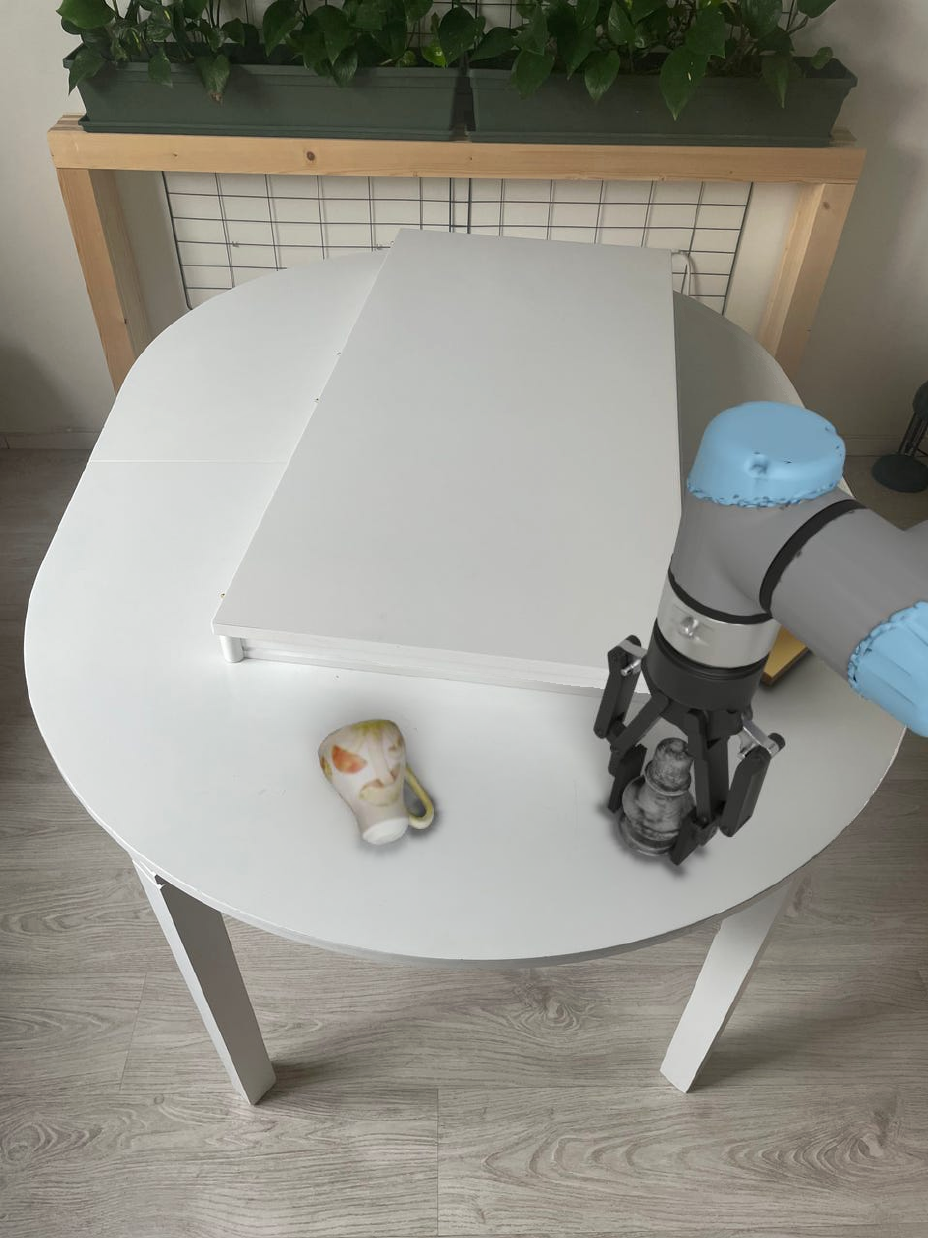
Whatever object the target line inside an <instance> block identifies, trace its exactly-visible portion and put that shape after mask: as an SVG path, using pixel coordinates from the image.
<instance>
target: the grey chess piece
mask: <svg viewBox="0 0 928 1238" xmlns="http://www.w3.org/2000/svg"><path fill="white" fill-rule="evenodd" d="M693 765H694V761H693V755H691V754H689V752H688V741H685V740H684V739H682V738H679V737H676V736H675V737H674V736H673V737H671V736H670V737H665V738H663V739H662V740H660V741H659V742H658V743H657V746H656V747H655V750H654V754H653V757H652V759H651V760H649V761H648V762H647V763H646V764H645V767H644V770H643V774H642V775H641V774H640V776H638V777H636V778H635V779H633V780H632V781H630V782H629V783H628V785H627V786H626V787H625V790H624V792H623V795H622V805H623V806H622V810H623V811H622V812H621V814H620V815H621V816H620V817H619V831H620V834H621V836H622V838H623V840H624V842H625V843H626V844H627V845H628V846H629V847H630V848H631V849H633V850H634V851H635V852H637V853H640V854H642V855H645V856H647V857H656V858H657V857H665V856H667V855H672V854H673V851H674V848H675V846H676V843H677V840H678V837H679V834H680V831H681V829H682V826H683V823H684V820H685V817H686V815H687V814H688V813H689V812H690V811H691V810H692V809H693V808H694V807H695V806H696V800H695V799H694V798H695V797H694V796H693V794H692V792H691V791H690V788H691V785H692V782H693V780H692V779H693V778H692V774H691V769H692V766H693Z"/></svg>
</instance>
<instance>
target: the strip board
mask: <svg viewBox="0 0 928 1238" xmlns="http://www.w3.org/2000/svg"><path fill="white" fill-rule="evenodd" d="M809 651H811V650H810V649H809V648H808V647H806V646H805V645H804V644H803V643H802V642H801V641H799V640H798V639H797V638H796V637H795V636H794V635H792V634H791V633H790V632H789V631H788V630H787V629H785V628H784V627H783V626H782V625H781V627H780V630H779V632H778V635H777V638H776V640H775V643H774V645H773V648H772V649H771V651H770V655H769V658H768V661H767V663H766V666H765V668H764V671H763V674H762V676H761V679H760V681H761V682H762V683H763V684H765V685H766V686H771V685H773V683H775V682H776V681H777V680H778V679H779V678H780V677H781V676H783V674H785V673H786V671H788V670H789V669H790V668H791V667H792V666H793V665H794V664H796V663H797V662H798V661H799V660H800V659H801V658H802V657H803V656H804V655H806V654H807V653H808V652H809Z"/></svg>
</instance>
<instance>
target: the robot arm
mask: <svg viewBox="0 0 928 1238" xmlns="http://www.w3.org/2000/svg"><path fill="white" fill-rule="evenodd" d="M845 459H846V445H845V442H844V440H843V438H842V437H840V436H839V435H838V434H837V431H836V428H835V426H834V425H833V424H832V423H831V422H830V421H829V420H827V419H826V418H824V417H823V416H821V415H820V414H818V413H816V412H814V411H812V410H810V409H807V408H805V407H802V406H799V405H796V404H791V403H788V402H784V401H783V402H782V401H775V400H755V401H747V402H741V403H740V404H738V405H736V406H734V407H729V408H726V409H725V410H723V411H721V412H719V413H718V414H716V416H714V417H713V418H712V419H711V420H710V421H709V423H708V425H707V426H706V427H705V430H704V432H703V435H702V437H701V441H700V444H699V448H698V451H697V454H696V456H695V459H694V463H693V466H692V467H691V471H689V473H688V475H687V477H686V485H685V486H686V487H685V488H686V489H685V493H684V494H685V495H684V497H683V504H682V509H681V514H680V519H679V524H678V528H677V534H676V538H675V542H674V546H673V547H674V548H673V551H672V553H671V556H670V561H669V565H668V568H667V571H666V576H665V580H664V583H663V588H662V592H661V596H660V600H659V604H658V609H657V612H656V613H657V614H656V617H655V620H654V622H653V627H652V630H651V635H650V639H649V643H648V646H647V648H644V647H643V646H642V642H641V640H640V639H639V637H638V636H637V635H635V634H630V635H628V636H627V637H626V638H624V639H623V640H622V641H620V642H619V643H618V644H616V645H615V646H614V647H612V648H611V649H610V650H608V652H607V654H606V655H607V665H608V676H607V680H606V684H605V686H604V689H603V694H602V697H601V701H600V705H599V707H598V710H597V714H596V717H595V721H594V724H593V729H592V730H593V733H594V735H595V736H596V737H597V738H598V739H600V740H603V739H604V740H605V739H606V740H607V742H608V743H609V750H610V751H609V752H610V757H609V762H608V766H607V771H608V774H609V775H610V776H612V777H613V782H612V787H611V790H610V795H609V798H608V803H607V807H606V808H607V809H608V810H609V811H610V812H611V813H613V814H616V813H617V812H618V811H619V810H621V808H623V805H622V795H623V792H624V790H625V787H626V786H627V785H628V783H629V782H630V781H632V780H633V779H635V778H636V777H638V776H641V774H642V770H643V768H644V763H645V759H646V756H647V752H648V747H646V746H645V745H643V743H641V742H640V741H641V740H643V738H645V737H646V736H647V734H648V733H649V732H650V731H651V730H652V728H654V726H656V724H657V723H658V722H659V721H660V720H661V719H663V720H664V721H666V722H667V723H669V724H671V725H673V726H675V727H677V729H679V730H680V731H681V733H682V734H684V736H686V737H687V743H688V752H689V754H691V755H693V774H694V775H693V777H694V790H695V791H694V793H695V804H696V806H695V807H694V808H693V809H692V810H691V811H690V812H689V813H688V814H687V815H686V817H685V820H684V823H683V826H682V829H681V831H680V834H679V837H678V840H677V843H676V846H675V848H674V851H673V852H672V853H671V857H670V861H671V862H672V863H673V864H674V865H676V867H678V866H680V865H681V864H682V863H683V862H684V861H685V860H686V859H687V858H688V857H689V856H690V855H691V854H692V853H693V852H694V851H695V850H696V849H697V848H698V847H699V846H700V847H704V846H705V845H707V843H709V842H710V841H711V840H712V839H713V838H714V836H716V835H717V833H718V830H719V831H720V833H721V834H722V835H724V836H725V837H726V838H733V836H735V835H736V834H737V832H739V831H740V830H741V829H742V827H743V826H744V825H746V824H747V823H748V822H749V820H751V818H752V817H753V815H754V812H755V809H756V805H757V803H758V799H759V796H760V794H761V791H762V787H763V784H764V781H765V779H766V777H767V773H768V770H769V766H770V765H771V764H770V763H771V761H772V760H773V759H774V757H776V756H777V755H778V754H779V753H780V752H781V751H782V750H783V749H784V748H785V746H786V740H785V737H783V736H782V735H781V734H780V733H778V732H771V733H769V734H768V735H767V734H766V733H765V732H764V731H763V730H762V729H761V728H760V727H759V726H758V725H757V724H756V723H755V722H754V721H753V720H754V719H753V718H754V711H753V706H752V700H753V698H754V697H755V693H756V691H757V689H758V687H759V684H760V681H761V680H760V679H761V676H762V674H763V671H764V668H765V666H766V663H767V661H768V658H769V655H770V651H771V649H772V648H773V645H774V643H775V640H776V638H777V635H778V632H779V630H780V627H781V625H782V626H783V627H784V628H785V629H787V630H788V631H789V632H790V633H791V634H792V635H794V636H795V637H796V638H797V639H798V640H799V641H801V642H802V643H803V644H804V645H805V646H806V647H808V648H809V649H810V650H809V651H811V652H812V653H813V654H814V655H815V656H817V658H819V659H820V660H821V661H822V662H823V663H824V664H826V665H827V666H828V667H829V668H830V669H831V670H833V671H834V672H835V673H836V674H837V675H838V676H840V677H841V678H842V679H843V680H844V681H845V682H847V683H848V684H849V685H850V688H851V689H852V690H853V691H854V692H855V693H857V694H858V695H859V696H860V697H861V698H862V699H865V700H866V701H871V702H872V703H874V704H875V705H877V706H878V707H879V708H880V709H882V710H883V711H884V712H886V713H887V714H888V715H889V716H891V717H892V718H893V719H895V720H897V721H898V722H900V724H902V725H903V726H904V727H906V728H908V729H909V730H910V732H911V731H912V733H914V734H916V735H918V736H920V737H923V738H928V519H925V520H923V521H922V522H921V521H920V522H919V523H917V524H915V525H913V526H911V527H909V528H907V529H905V530H901V529H900V528H898V527H897V526H895V525H894V524H892V523H891V522H890V521H888V520H886V519H885V518H884V517H882V516H881V515H879V514H877V513H876V512H875V511H873V510H871V508H868V507H867V506H866V505H864V504H862V502H860V501H859V499H856V498H855V497H853V496H852V495H850V493H847V492H846V491H844V490H842V489H841V488H840V487H839V485H840V484H841V482H840V481H841V479H842V478H843V473H844V463H845ZM641 673H642V676H643V679H644V681H645V684H646V686H647V689H648V692H649V695H650V698H649V700H648V701H647V702H646V703H645V704H644V706H642V707H641V709H640V710H639V711H638V713H637V714H636V716H635V717H634V718H633V719H632V720H631V721H630V722H629V723H628V725H627V726H626V724H625V721H626V718H627V715H628V711H629V709H630V706H631V703H632V699H633V697H634V694H635V690H636V687H637V685H638V682H639V678H640V676H641ZM736 735H737V736H738V737H739V739H740V745H739V752H738V753H737V757H738V759H739V760H740V761H739V762H738V764H737V766H736V768H735V770H734V774H733V777H732V780H731V783H730V775H729V773H730V772H729V771H730V770H729V747H728V745H729V741H730V738H731V737H732V736H736ZM639 742H640V743H639Z"/></svg>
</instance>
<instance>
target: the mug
mask: <svg viewBox="0 0 928 1238" xmlns="http://www.w3.org/2000/svg"><path fill="white" fill-rule="evenodd" d="M406 746H407V745H406V742H405V738H404V736H403V734H402V730H401V729H400V727H399V725H398V724H397V723H396V722H395V721H393V720H390V719H381V718H377V719H376V718H375V719H367V720H363V721H362V720H361V721H358V722H354V723H351V724H348V725H345V726H342V727H340V728H337V729H336V730H334V731H332V732H330V733H329V734H328V735H327V736H326V737H325V738H324V739H323V740H322V742H321V743H320V745H319V747H318V749H317V756H318V760H319V765H320V769H321V770H322V773H323V775H324V777H325V779H326V780H327V781H328V783H329V784H330V786H331V787H332V788H333V789H334V790H335V791H336V793H337V794H338V795H339V796H340V797H341V799H342V800H343V801H344V802H345V804H346V805H347V806H348V807H349V809H350V810H351V813H353V816H354V818H355V821H356V823H357V826H358V830H359V833H360V835H361V837H362V839H363V840H364V841H366V842H368V843H369V844H372V845H376V846H381V845H387V844H391V843H393V842H395V841H397V840H398V839H401V837H402V836H404V835H405V833H406V832H407V830H408V828H409V826H411V827H412V828H414V829H418V830H425V829H426V828H428V827H429V826H430V825H431V824H432V822H433V820H434V818H435V806H434V804H433V801H432V800H431V798H430V797H429V794H428V793H427V792H426V790H424V788H423V787H422V785H421V784H420V782H419V781H418V779H417V777H416V776H415V775H414V774H413V772H412V770H411V768H410V766H409V764H408V762H407V747H406ZM405 783H406V784H407V785H408V786H409V788H410V789H412V791H413V792H414V793H415V794H416V796H417V797H418V798H419V800H420V802H421V803H422V805H423V807H424V809H425V810H424V811H425V813H424V815H423V816H416V815H414V814H412V813H411V811H409V808H408V807H407V806H406V801H405V795H404V788H405V787H404V786H405Z"/></svg>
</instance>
